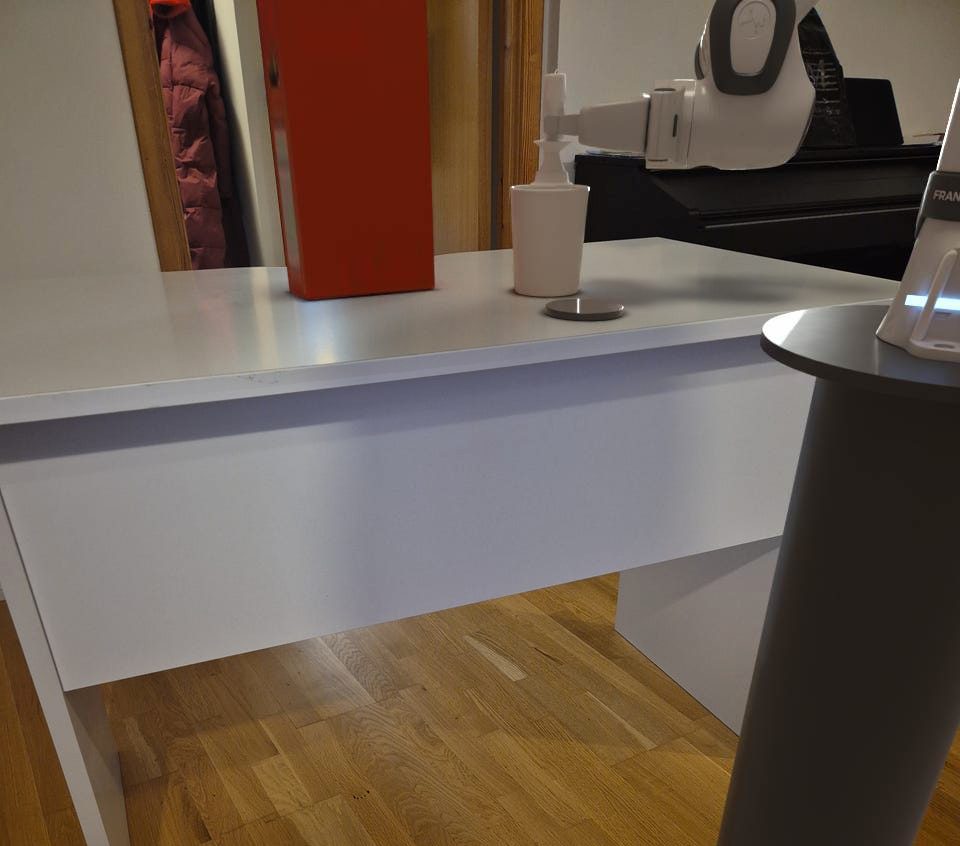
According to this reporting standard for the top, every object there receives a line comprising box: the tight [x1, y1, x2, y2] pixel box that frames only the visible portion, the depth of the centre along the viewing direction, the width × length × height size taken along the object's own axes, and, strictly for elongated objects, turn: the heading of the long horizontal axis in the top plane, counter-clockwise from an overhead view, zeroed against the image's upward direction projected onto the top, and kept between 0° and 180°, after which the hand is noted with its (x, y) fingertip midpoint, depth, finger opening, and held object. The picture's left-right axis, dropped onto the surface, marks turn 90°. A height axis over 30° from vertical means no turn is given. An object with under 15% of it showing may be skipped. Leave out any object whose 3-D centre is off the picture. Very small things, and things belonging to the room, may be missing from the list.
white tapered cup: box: [509, 183, 591, 298], centre depth 106 cm, size 10×10×12 cm
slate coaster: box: [544, 298, 624, 322], centre depth 97 cm, size 9×9×1 cm
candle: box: [529, 67, 574, 187], centre depth 99 cm, size 5×5×12 cm
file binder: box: [255, 0, 436, 301], centre depth 101 cm, size 8×17×32 cm, turn 118°
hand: (546, 124), depth 99 cm, fingers closed on candle, 2 cm apart
